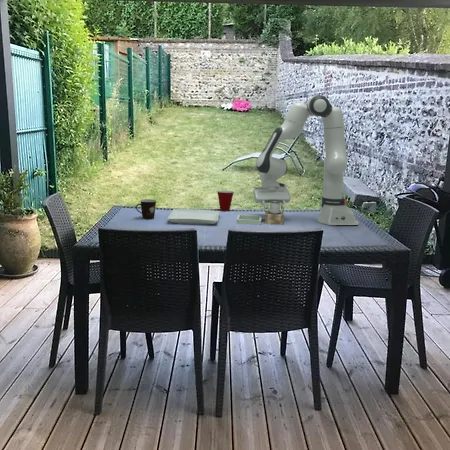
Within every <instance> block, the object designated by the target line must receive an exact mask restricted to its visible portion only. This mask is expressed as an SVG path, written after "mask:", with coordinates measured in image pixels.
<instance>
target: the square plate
mask: <svg viewBox="0 0 450 450" xmlns="http://www.w3.org/2000/svg"><path fill="white" fill-rule="evenodd" d="M220 213H221V210H208V209H194V208H193V209H191V208H190V209H189V208H174V209H172V210H171V212H170V213H169V215H168V217H166V218H167V220H168V221H169V222H171V223H175V224H182V225H183V224H185V225H187V224H189V225H214V224H216V223H217V222H218V221H219V218H220Z"/></svg>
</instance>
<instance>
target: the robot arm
mask: <svg viewBox="0 0 450 450" xmlns="http://www.w3.org/2000/svg"><path fill="white" fill-rule="evenodd" d="M309 117H321V119H322V122H323V124H322V125H323V144H324V150H325V151H324V152H325V157H324V159H323V184H322V185H323V187H322V188H323V189H322V196H321V200H320V212H319V216H318V219H317V222H318V223H319V224H323V225H324V224H325V225H328V226H331V225H358V226H359V221H358V220H356V218H355V213H354V212H353V210H352V209H351V208H350V207H348V206H347V204H348V200H347V199H345V198H343V197H344V186H345V183H344V172H345V171H346V170H347V167H348V159H347V156H348V155H347V149H346V142H345V141H346V140H345V138H346V137H345V136H346V135H345V121H344V115H343V111H342V108H340V107H338V106H333V105H332V103H331V102H330V101H329V99H328V98H327V97H326V96H325V95H321V94H316V95H313V96H311V97H310V98H308V99H307V100H306V101H305V102H301V101H300V102H299V101H298V102H294V103H292V104H291V107H290V109H288V112H287V113H286V116H285V119H284V121H283V122H282V124H281V125H280V126H279V127H276V128H275V130H274V131H273V132H272V134H271V136H270V137H269V139H268V141H267V143H266V144H265V147H264V148H263V150H262V152H261V153H260V154H259V156H258V157H257V159H256V160H255V167H256V169H257V171H258V173H259V179H260V181H261V187H255V188H253V189H252V193H253V195H254V196H253V197H254V198H253V199H254V202H255V203H256V204H261V205H262V206H263V208H264V210H267V209H268V208H269V206H268V204H270V200H279V201H280V204H281V205H280V209H281V210H284V209H285V204H289V203H290V202H291V199H292V197H291V194H290V191H289V190H288V188H287V184H286V183H282V182H280V181H277V180H279V179H281V178H283V176H285V175H286V174H287V172H288V163H287V161H286V160H284V159H282V158H277V157H274V156H273V155H274V152H275V150H276V149H277V147H278V145H279V144H280V143H281V142H282V141H285V140H292V139H296V138H298V137H299V136H300V135H301V134H302V132H303V130H304V127H305V125H306V122H307V120H308V119H309Z"/></svg>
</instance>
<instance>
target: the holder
mask: <svg viewBox="0 0 450 450" xmlns="http://www.w3.org/2000/svg"><path fill="white" fill-rule="evenodd" d="M284 217H285V213H284V211H279V215H274V214H270V210H265V213H264V224H265V225H279V226H280V225H283V226H284Z"/></svg>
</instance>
